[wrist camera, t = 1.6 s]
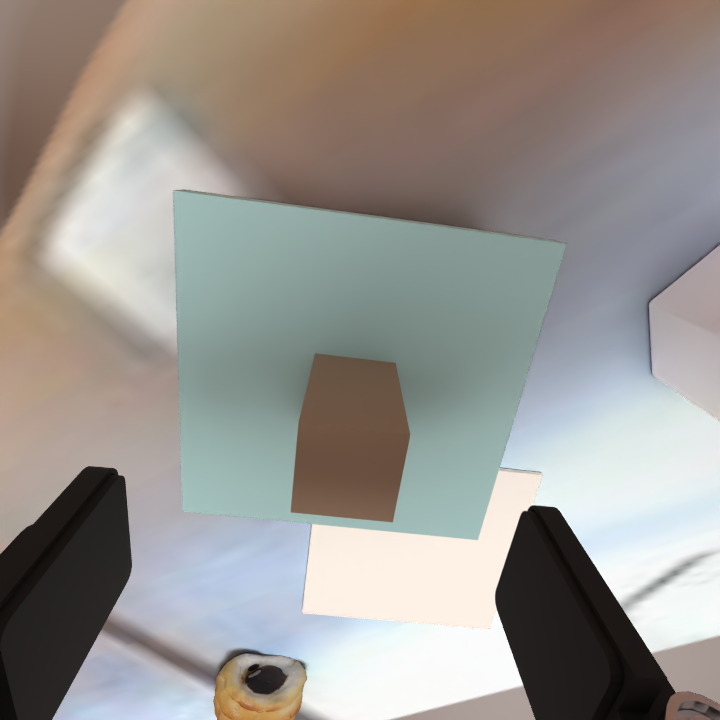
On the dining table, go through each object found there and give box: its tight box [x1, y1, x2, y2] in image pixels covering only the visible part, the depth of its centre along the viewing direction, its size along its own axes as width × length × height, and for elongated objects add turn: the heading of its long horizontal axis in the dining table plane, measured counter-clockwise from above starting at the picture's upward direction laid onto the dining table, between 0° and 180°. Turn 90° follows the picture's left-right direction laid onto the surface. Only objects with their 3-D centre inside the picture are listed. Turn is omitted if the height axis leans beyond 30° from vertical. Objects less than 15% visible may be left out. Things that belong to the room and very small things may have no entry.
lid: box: [173, 190, 566, 540], centre depth 16 cm, size 13×13×8 cm
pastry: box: [213, 653, 307, 720], centre depth 35 cm, size 9×7×4 cm
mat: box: [302, 468, 543, 629], centre depth 30 cm, size 14×14×1 cm
